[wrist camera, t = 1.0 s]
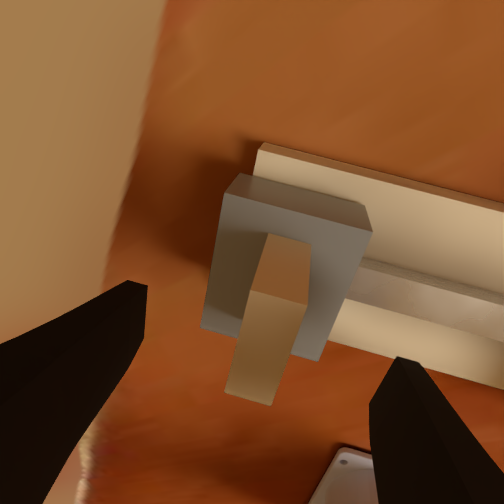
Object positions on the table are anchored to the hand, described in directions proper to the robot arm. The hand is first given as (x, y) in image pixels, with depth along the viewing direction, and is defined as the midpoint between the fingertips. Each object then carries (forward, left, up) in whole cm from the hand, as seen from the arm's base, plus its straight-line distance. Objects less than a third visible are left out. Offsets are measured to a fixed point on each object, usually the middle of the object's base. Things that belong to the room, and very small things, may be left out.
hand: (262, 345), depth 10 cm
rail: (0, -6, -6) cm, 8 cm away
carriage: (0, 0, -6) cm, 6 cm away
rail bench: (0, -6, -8) cm, 9 cm away
